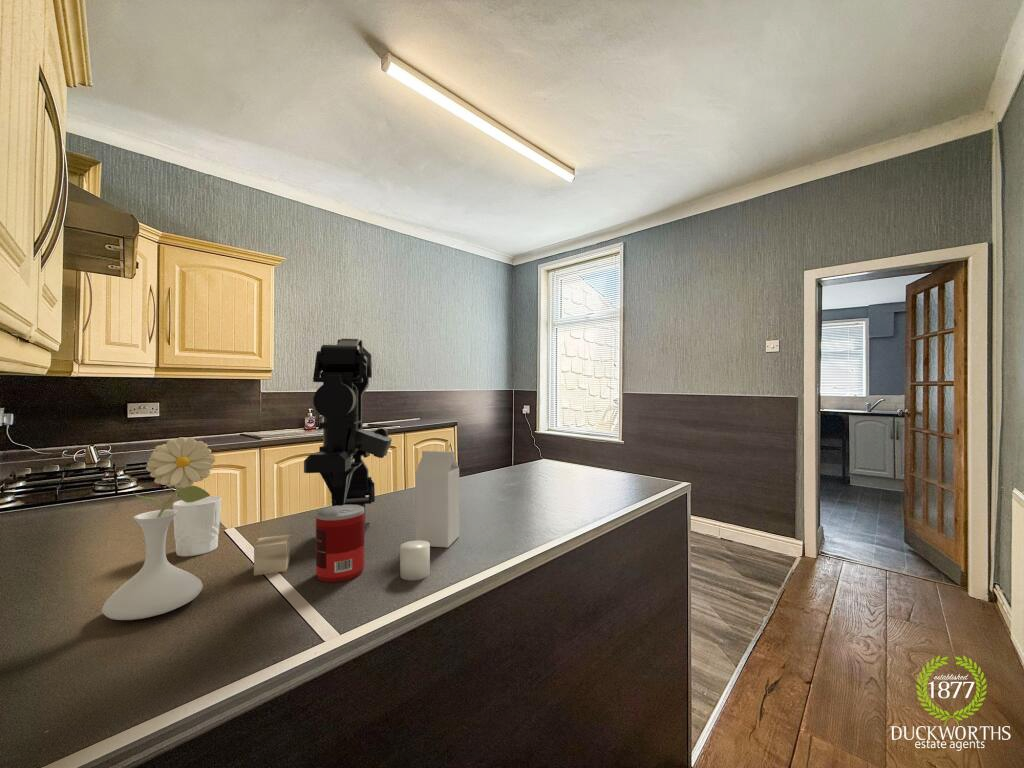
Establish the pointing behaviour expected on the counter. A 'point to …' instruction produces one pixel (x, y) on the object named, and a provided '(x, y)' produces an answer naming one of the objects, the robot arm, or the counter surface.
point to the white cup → (197, 526)
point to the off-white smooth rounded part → (414, 560)
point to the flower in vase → (163, 536)
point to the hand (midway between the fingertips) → (340, 505)
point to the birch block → (271, 554)
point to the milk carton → (437, 498)
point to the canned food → (340, 542)
